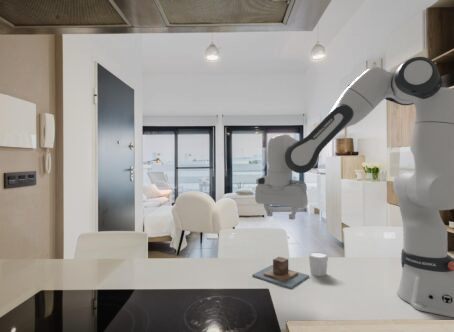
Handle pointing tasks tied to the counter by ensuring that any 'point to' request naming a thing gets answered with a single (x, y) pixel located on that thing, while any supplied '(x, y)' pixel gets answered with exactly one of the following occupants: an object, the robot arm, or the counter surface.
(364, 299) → the counter surface
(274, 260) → the brown wooden pedestal
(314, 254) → the shot glass
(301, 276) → the mat
